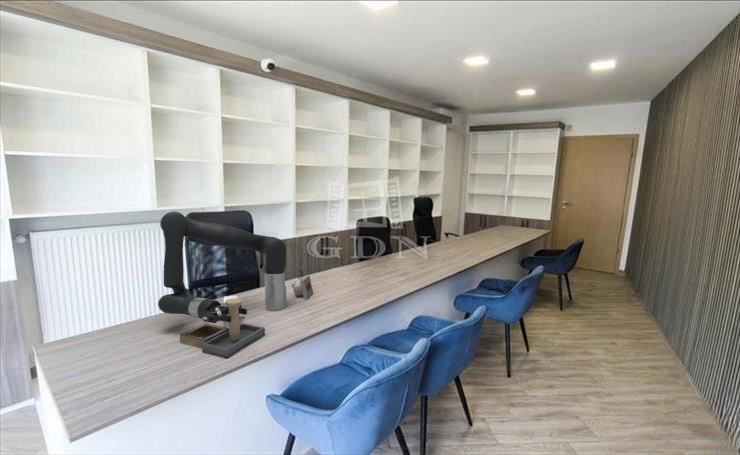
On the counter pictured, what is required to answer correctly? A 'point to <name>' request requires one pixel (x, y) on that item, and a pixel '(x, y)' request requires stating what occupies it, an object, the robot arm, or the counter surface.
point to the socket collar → (193, 334)
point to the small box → (225, 304)
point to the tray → (227, 348)
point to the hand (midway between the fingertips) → (238, 315)
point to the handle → (234, 318)
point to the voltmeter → (303, 286)
